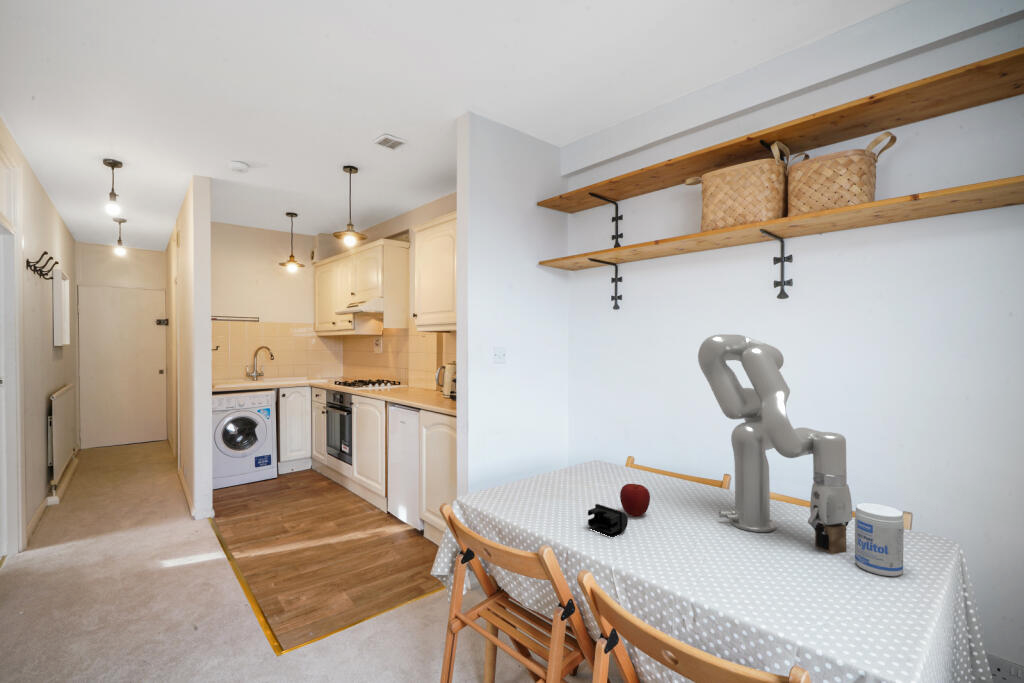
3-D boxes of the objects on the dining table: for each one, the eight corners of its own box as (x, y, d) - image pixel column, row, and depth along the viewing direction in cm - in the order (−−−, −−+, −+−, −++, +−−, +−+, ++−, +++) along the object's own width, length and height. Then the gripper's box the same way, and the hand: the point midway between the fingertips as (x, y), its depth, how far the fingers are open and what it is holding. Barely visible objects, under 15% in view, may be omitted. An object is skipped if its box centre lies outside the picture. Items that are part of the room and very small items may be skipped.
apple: (639, 523, 150) (638, 490, 150) (614, 514, 157) (613, 484, 157) (656, 515, 156) (655, 484, 156) (631, 508, 163) (630, 478, 163)
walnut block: (832, 554, 126) (832, 527, 126) (815, 546, 131) (814, 521, 131) (846, 551, 128) (846, 525, 128) (829, 544, 133) (828, 519, 133)
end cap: (628, 532, 142) (628, 510, 142) (613, 539, 138) (613, 515, 138) (601, 523, 150) (601, 501, 150) (586, 529, 145) (586, 507, 145)
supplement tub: (853, 569, 118) (852, 509, 118) (856, 556, 125) (855, 500, 125) (903, 582, 112) (903, 518, 112) (904, 567, 119) (903, 507, 119)
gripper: (818, 486, 123) (819, 556, 123) (866, 479, 129) (867, 547, 129) (793, 478, 131) (794, 545, 131) (839, 472, 136) (840, 536, 136)
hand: (830, 545), depth 130 cm, fingers closed on walnut block, 5 cm apart
